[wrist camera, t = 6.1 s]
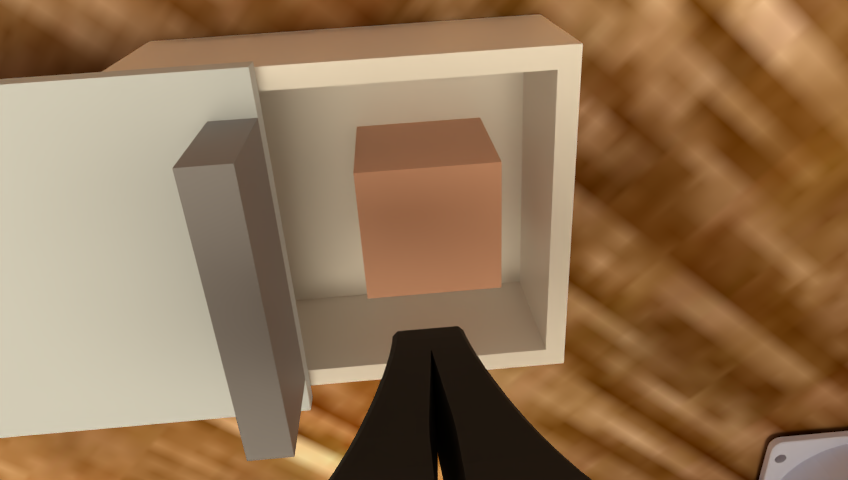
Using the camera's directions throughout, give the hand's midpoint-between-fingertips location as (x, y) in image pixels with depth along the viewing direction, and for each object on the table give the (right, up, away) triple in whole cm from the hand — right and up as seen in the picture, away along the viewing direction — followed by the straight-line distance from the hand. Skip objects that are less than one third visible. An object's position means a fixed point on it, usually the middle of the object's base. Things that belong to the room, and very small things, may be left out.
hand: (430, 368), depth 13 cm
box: (-2, +5, +9) cm, 11 cm away
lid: (-10, +2, +4) cm, 11 cm away
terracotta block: (0, +5, +9) cm, 10 cm away
